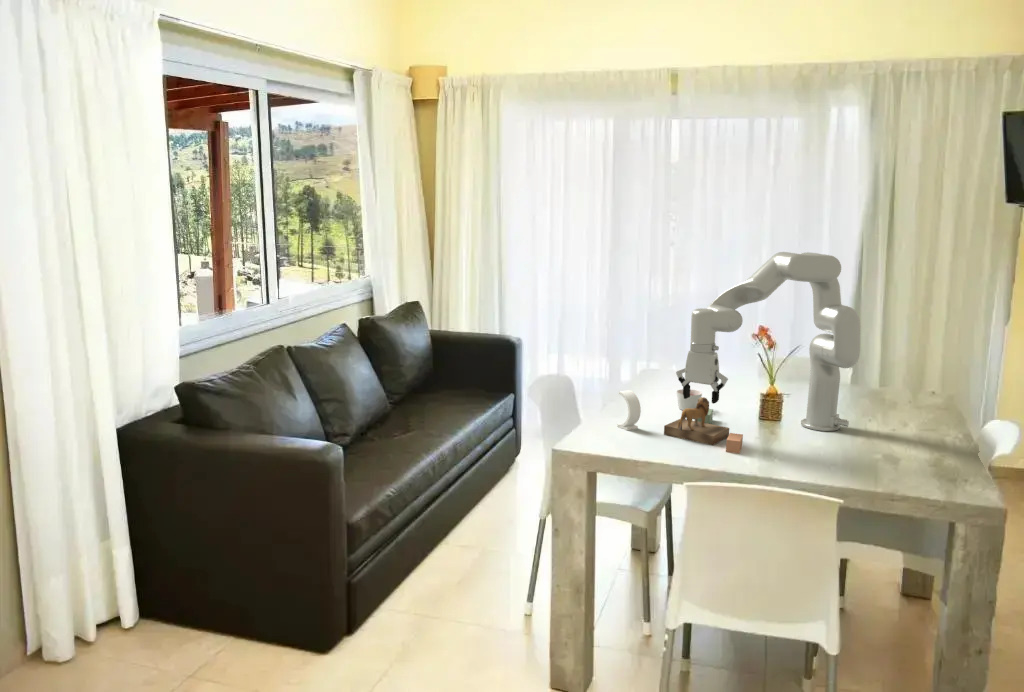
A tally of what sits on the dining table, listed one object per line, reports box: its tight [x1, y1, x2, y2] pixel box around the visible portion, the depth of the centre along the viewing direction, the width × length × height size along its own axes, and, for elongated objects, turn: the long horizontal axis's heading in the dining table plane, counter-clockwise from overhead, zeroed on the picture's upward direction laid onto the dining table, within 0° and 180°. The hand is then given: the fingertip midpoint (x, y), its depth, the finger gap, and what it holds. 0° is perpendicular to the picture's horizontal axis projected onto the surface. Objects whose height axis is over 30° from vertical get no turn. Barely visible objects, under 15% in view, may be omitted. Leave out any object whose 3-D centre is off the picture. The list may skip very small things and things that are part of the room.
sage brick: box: [697, 408, 714, 424], centre depth 290 cm, size 8×4×4 cm, turn 159°
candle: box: [676, 388, 703, 411], centre depth 306 cm, size 9×9×6 cm
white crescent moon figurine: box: [617, 389, 642, 431], centre depth 280 cm, size 5×6×12 cm
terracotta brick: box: [725, 432, 744, 454], centre depth 260 cm, size 8×4×4 cm, turn 159°
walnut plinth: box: [663, 418, 730, 446], centre depth 273 cm, size 17×12×3 cm
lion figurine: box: [678, 396, 710, 430], centre depth 271 cm, size 15×5×9 cm, turn 137°
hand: (700, 400), depth 272 cm, fingers open, 9 cm apart
